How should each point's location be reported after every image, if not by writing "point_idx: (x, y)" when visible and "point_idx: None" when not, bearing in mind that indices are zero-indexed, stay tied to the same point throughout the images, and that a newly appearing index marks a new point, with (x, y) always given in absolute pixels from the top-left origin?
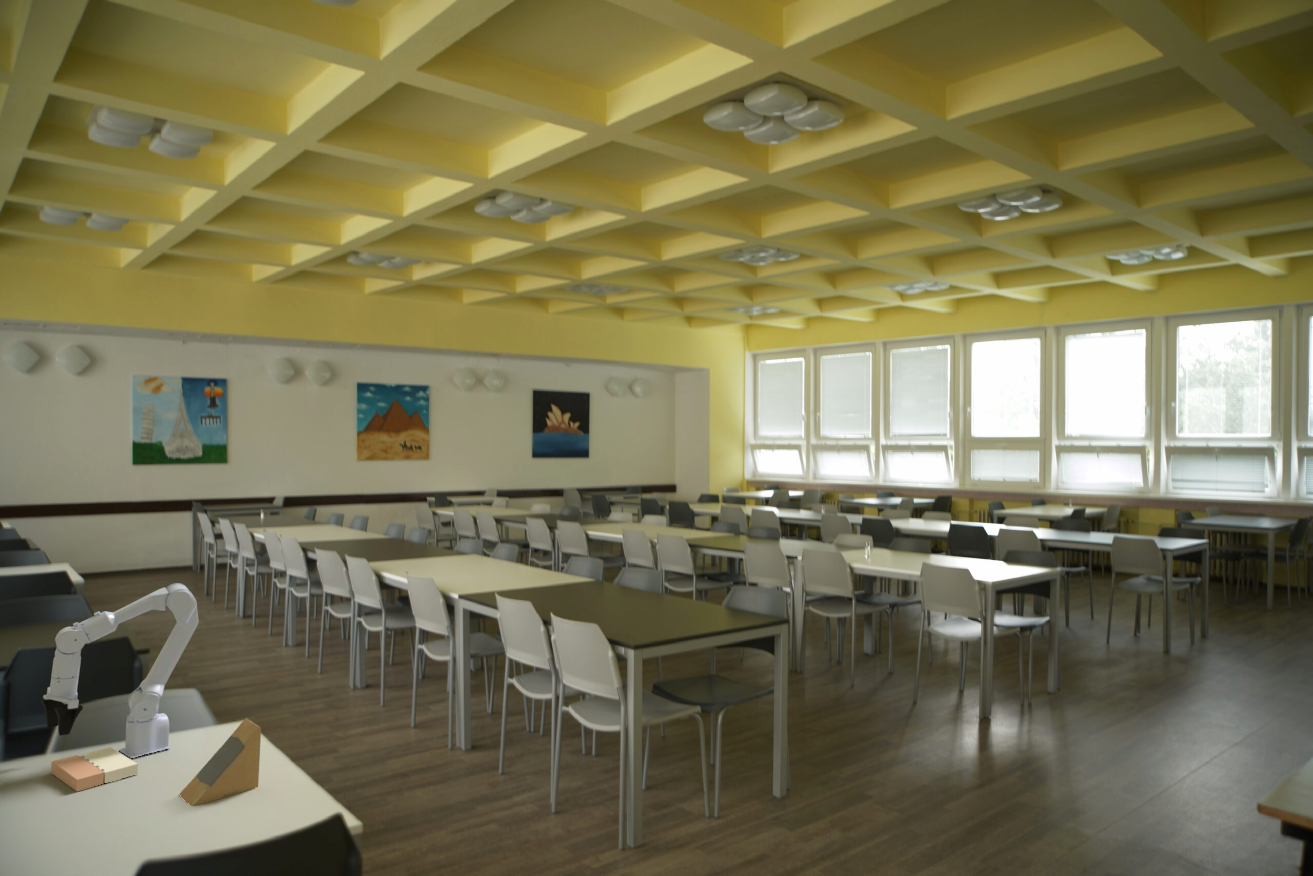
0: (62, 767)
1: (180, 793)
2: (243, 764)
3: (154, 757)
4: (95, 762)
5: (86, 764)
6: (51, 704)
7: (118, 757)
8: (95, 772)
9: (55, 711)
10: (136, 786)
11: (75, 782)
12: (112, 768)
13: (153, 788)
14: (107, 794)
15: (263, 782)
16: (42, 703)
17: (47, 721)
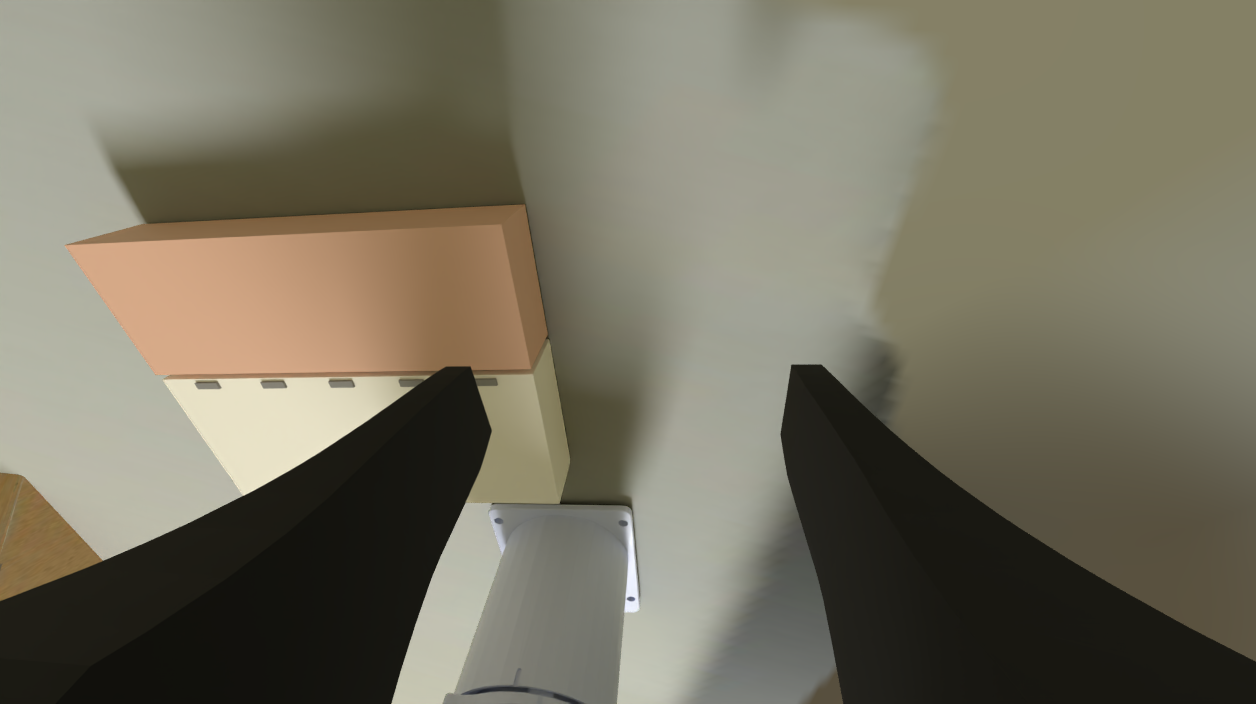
0: (331, 243)
1: (11, 483)
2: None
3: (469, 550)
4: (350, 395)
5: (329, 355)
6: (919, 690)
7: None
8: (169, 349)
9: (844, 571)
10: (153, 419)
11: (117, 236)
12: (217, 419)
13: (112, 449)
14: (79, 316)
15: None
16: (1174, 649)
17: (816, 401)
